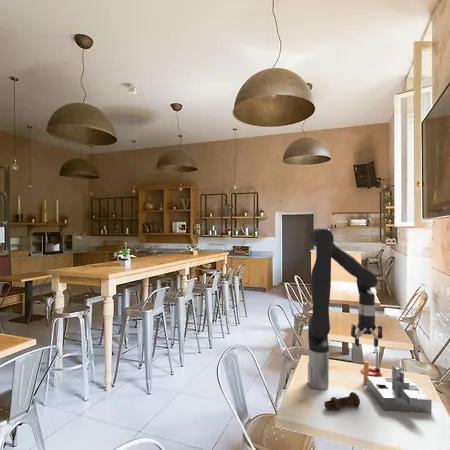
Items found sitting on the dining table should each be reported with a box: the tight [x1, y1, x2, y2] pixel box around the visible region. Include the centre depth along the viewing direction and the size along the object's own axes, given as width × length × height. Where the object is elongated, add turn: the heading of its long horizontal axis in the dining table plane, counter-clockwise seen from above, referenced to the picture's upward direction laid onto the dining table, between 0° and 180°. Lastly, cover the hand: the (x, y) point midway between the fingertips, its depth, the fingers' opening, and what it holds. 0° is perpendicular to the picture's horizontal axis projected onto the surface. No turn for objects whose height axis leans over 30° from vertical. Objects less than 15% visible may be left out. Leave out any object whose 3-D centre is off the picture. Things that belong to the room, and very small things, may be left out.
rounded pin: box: [363, 360, 370, 385], centre depth 159 cm, size 2×2×10 cm
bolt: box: [323, 391, 361, 411], centre depth 137 cm, size 6×5×15 cm
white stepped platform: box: [366, 365, 433, 414], centre depth 141 cm, size 19×24×14 cm
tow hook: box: [360, 347, 383, 377], centre depth 170 cm, size 8×13×9 cm
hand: (366, 346), depth 159 cm, fingers open, 8 cm apart
